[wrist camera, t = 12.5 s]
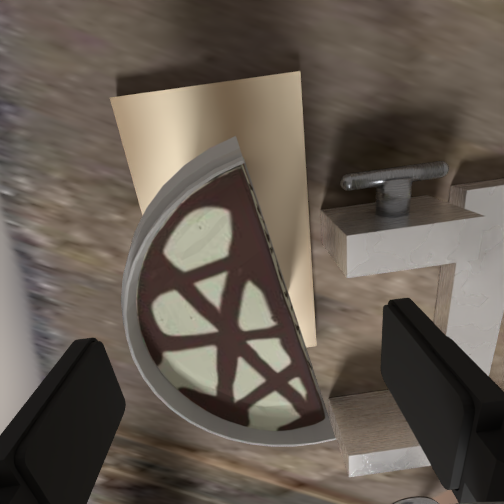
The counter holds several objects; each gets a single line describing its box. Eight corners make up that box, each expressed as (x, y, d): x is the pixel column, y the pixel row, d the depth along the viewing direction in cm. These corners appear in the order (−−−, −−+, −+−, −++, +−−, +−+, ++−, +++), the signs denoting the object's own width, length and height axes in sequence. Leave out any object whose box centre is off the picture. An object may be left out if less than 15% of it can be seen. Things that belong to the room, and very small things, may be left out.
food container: (132, 168, 17) (16, 217, 8) (235, 131, 17) (236, 138, 8) (211, 335, 22) (196, 486, 13) (294, 309, 22) (338, 448, 12)
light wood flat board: (296, 74, 17) (300, 71, 16) (313, 337, 24) (316, 345, 23) (116, 99, 17) (109, 97, 16) (186, 355, 24) (184, 364, 23)
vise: (519, 141, 19) (610, 147, 14) (467, 401, 27) (514, 457, 23) (318, 170, 19) (346, 184, 14) (329, 420, 27) (348, 480, 23)
